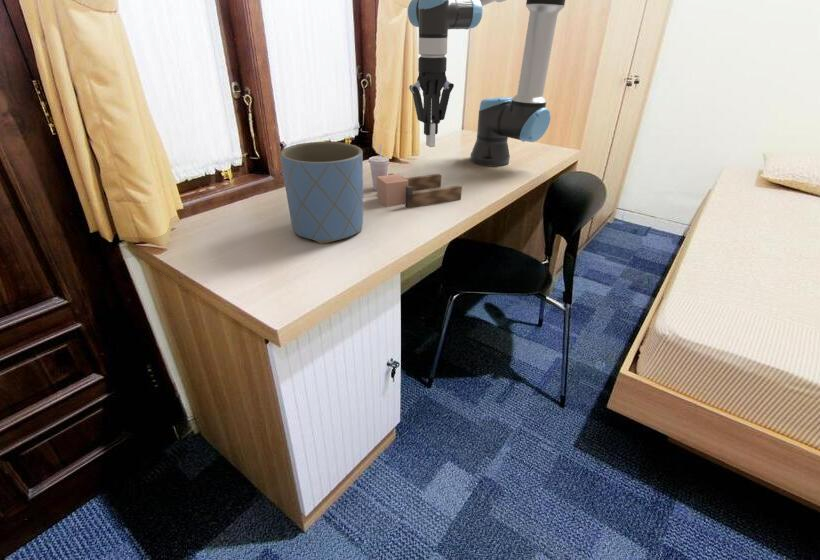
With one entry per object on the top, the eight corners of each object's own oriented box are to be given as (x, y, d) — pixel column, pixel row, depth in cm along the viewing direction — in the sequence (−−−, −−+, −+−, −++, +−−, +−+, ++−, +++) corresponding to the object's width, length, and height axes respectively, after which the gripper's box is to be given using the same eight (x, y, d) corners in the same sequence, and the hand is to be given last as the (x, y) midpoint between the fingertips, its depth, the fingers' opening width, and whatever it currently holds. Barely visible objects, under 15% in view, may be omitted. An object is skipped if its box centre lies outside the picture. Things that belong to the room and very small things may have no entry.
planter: (380, 230, 112) (379, 152, 102) (318, 253, 101) (309, 168, 90) (336, 209, 124) (331, 137, 113) (276, 228, 112) (264, 149, 102)
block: (398, 195, 135) (398, 173, 131) (408, 203, 129) (408, 180, 126) (377, 199, 132) (376, 176, 128) (386, 206, 127) (386, 183, 123)
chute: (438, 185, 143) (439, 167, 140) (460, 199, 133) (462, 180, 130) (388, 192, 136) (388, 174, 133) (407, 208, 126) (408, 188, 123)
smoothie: (386, 193, 136) (386, 147, 129) (367, 191, 137) (365, 146, 130) (391, 186, 142) (391, 142, 135) (372, 184, 143) (371, 141, 136)
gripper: (446, 53, 120) (443, 140, 133) (404, 55, 115) (404, 145, 128) (461, 56, 115) (456, 146, 127) (417, 58, 110) (416, 151, 122)
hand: (430, 145), depth 128 cm, fingers closed
